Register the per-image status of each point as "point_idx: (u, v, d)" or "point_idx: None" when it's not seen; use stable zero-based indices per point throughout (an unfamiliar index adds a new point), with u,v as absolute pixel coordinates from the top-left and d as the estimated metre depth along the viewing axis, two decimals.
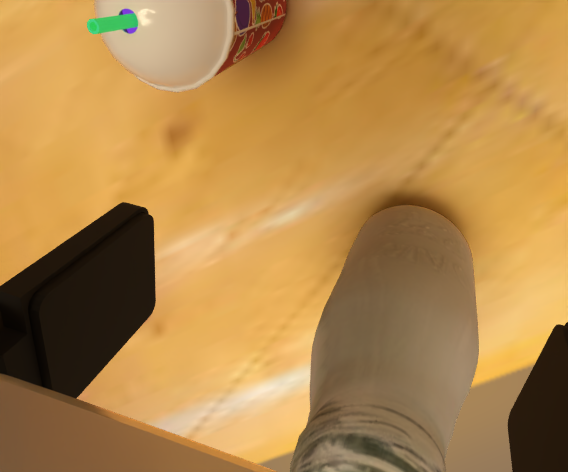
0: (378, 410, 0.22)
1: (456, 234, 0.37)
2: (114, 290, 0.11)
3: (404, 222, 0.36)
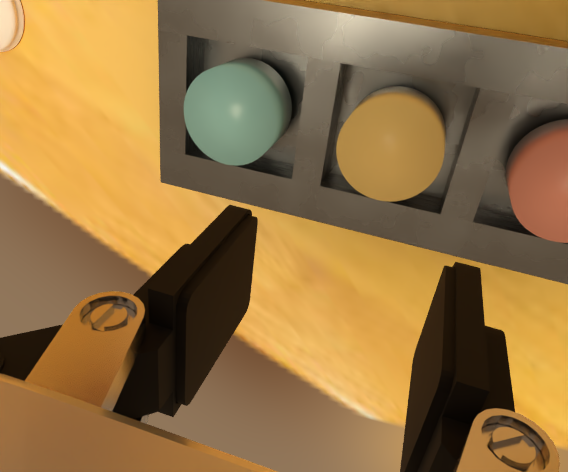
0: None
1: None
2: (228, 289, 0.11)
3: None
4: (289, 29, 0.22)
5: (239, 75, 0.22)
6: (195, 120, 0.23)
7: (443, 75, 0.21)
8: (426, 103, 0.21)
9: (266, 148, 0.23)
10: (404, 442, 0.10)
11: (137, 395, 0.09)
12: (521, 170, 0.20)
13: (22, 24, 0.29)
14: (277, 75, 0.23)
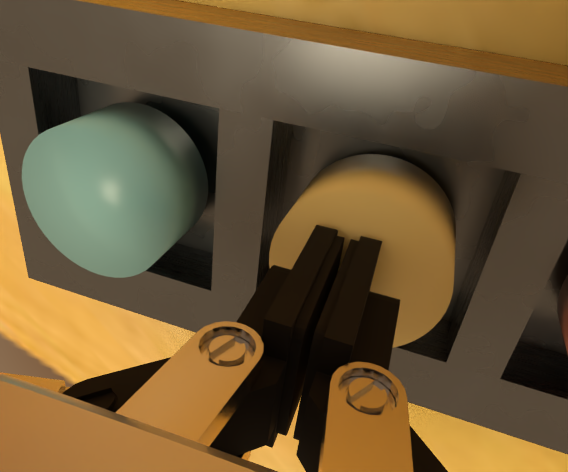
0: None
1: None
2: (322, 312, 0.11)
3: None
4: (184, 61, 0.12)
5: (97, 141, 0.12)
6: (43, 206, 0.14)
7: (452, 149, 0.11)
8: (422, 192, 0.12)
9: (155, 257, 0.14)
10: None
11: (238, 437, 0.08)
12: None
13: None
14: (179, 132, 0.14)
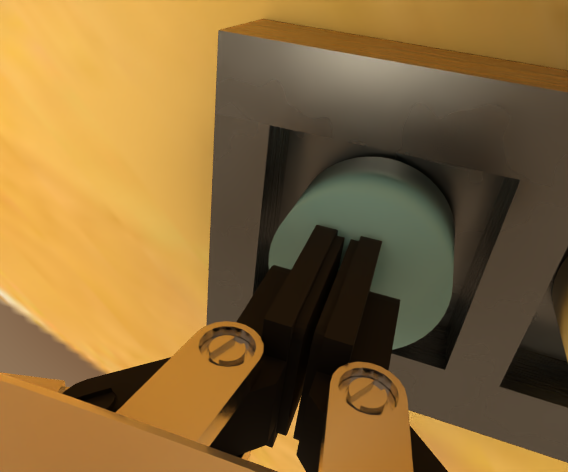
0: None
1: None
2: (322, 312, 0.11)
3: None
4: (488, 126, 0.11)
5: (389, 211, 0.11)
6: None
7: None
8: None
9: (424, 333, 0.12)
10: None
11: (238, 437, 0.08)
12: None
13: None
14: (438, 191, 0.13)
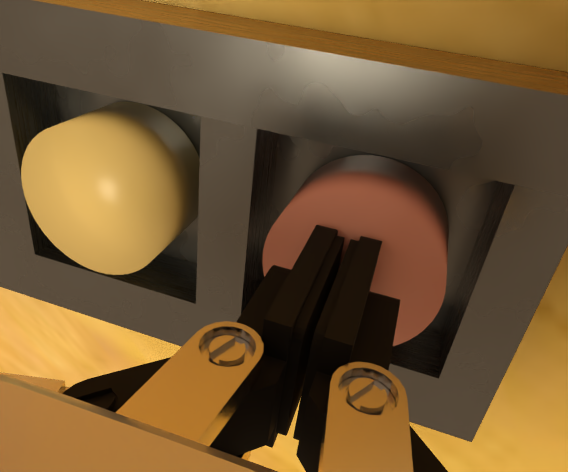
0: None
1: None
2: (321, 312, 0.11)
3: None
4: None
5: None
6: None
7: (144, 95, 0.12)
8: (144, 130, 0.14)
9: None
10: None
11: (238, 437, 0.08)
12: (269, 239, 0.12)
13: None
14: None
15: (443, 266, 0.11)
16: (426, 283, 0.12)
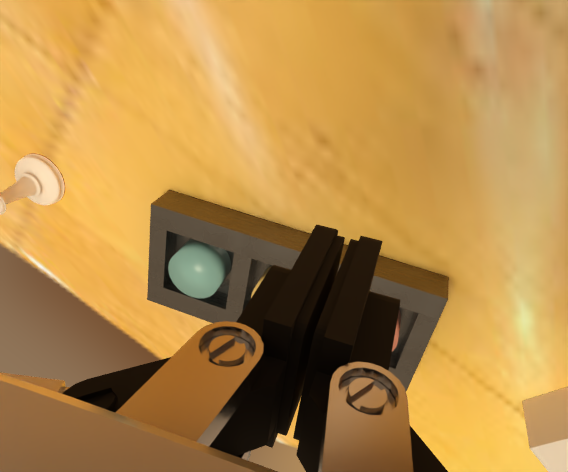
0: None
1: None
2: (322, 312, 0.11)
3: None
4: (223, 238, 0.39)
5: (199, 256, 0.39)
6: (174, 273, 0.41)
7: None
8: None
9: (213, 292, 0.41)
10: None
11: (238, 437, 0.08)
12: None
13: (63, 192, 0.45)
14: (222, 249, 0.41)
15: (397, 334, 0.37)
16: None
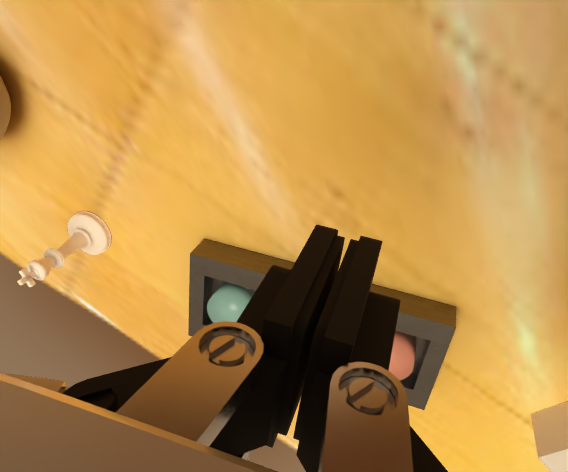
0: None
1: None
2: (322, 313, 0.11)
3: None
4: (255, 280, 0.44)
5: (234, 297, 0.45)
6: (212, 312, 0.46)
7: None
8: None
9: None
10: None
11: (238, 437, 0.08)
12: None
13: (110, 242, 0.51)
14: None
15: (413, 360, 0.42)
16: (408, 364, 0.42)
